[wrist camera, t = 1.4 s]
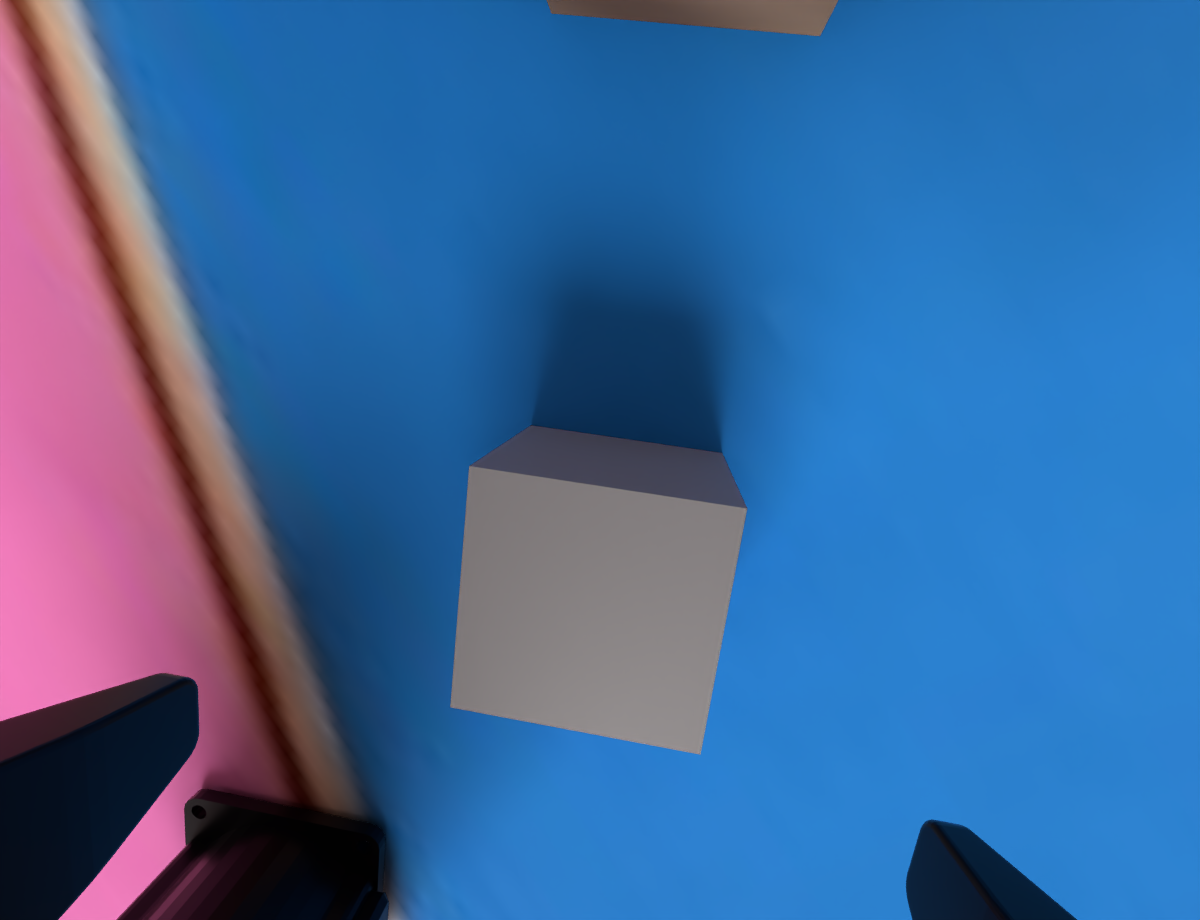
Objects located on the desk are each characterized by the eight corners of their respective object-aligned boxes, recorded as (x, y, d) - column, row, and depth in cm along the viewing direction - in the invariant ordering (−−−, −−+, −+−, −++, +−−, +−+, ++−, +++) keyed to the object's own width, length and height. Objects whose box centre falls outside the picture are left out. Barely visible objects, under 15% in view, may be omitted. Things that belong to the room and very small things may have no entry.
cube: (514, 598, 17) (450, 707, 12) (531, 424, 16) (469, 466, 11) (691, 628, 16) (700, 754, 11) (721, 452, 15) (747, 508, 10)
